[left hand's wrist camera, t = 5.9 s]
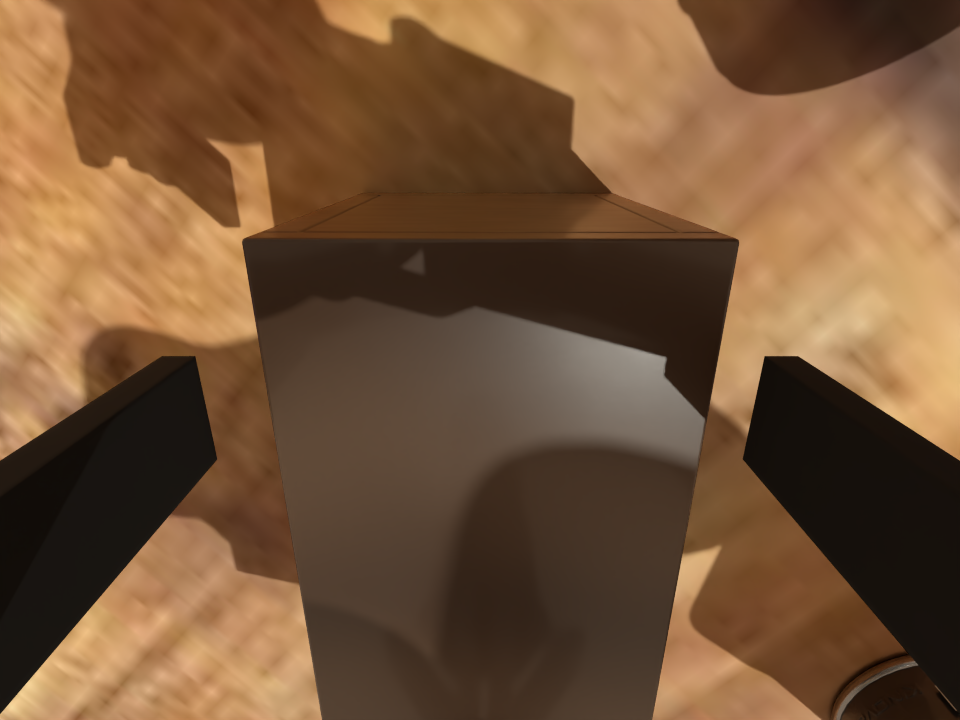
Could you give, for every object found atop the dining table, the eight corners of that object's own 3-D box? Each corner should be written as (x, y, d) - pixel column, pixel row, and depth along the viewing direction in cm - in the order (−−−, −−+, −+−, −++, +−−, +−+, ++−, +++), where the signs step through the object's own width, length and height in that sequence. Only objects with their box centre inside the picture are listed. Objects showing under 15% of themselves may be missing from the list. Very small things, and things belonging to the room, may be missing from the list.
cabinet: (577, 585, 30) (631, 838, 19) (392, 584, 30) (340, 835, 19) (613, 193, 22) (741, 239, 11) (361, 192, 22) (239, 238, 11)
